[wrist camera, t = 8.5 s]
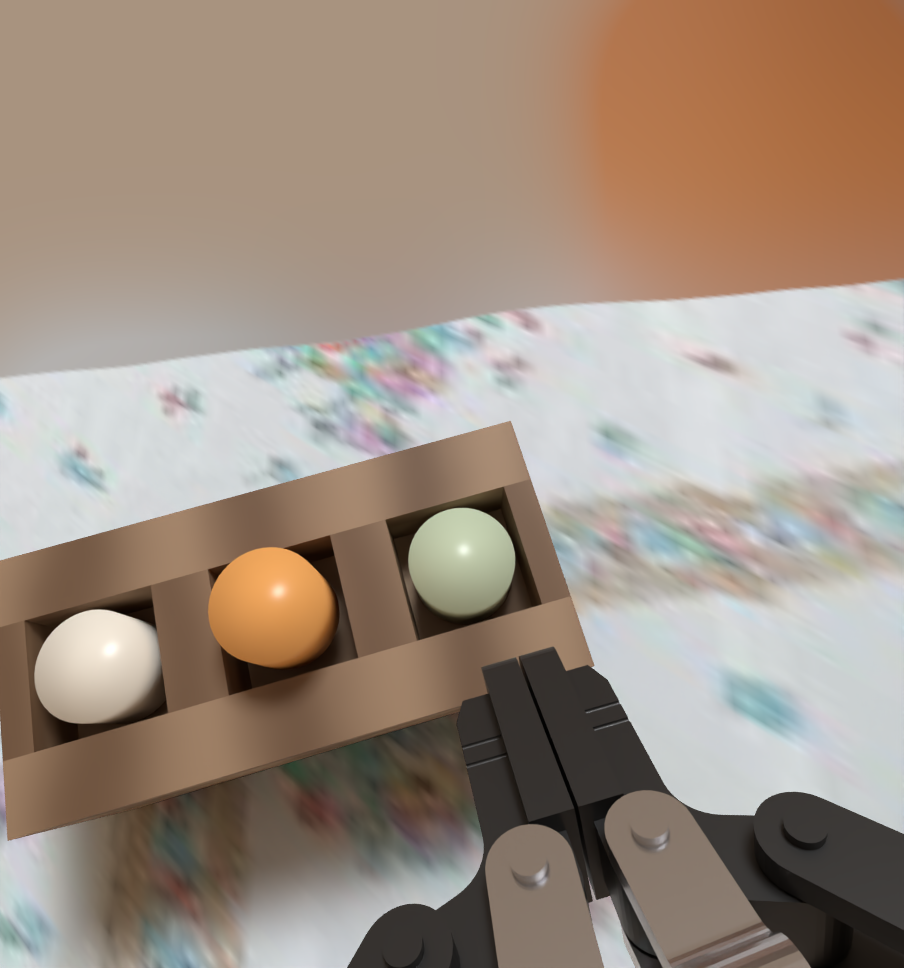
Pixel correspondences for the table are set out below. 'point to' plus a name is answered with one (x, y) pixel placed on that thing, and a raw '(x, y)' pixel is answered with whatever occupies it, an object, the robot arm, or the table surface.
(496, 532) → the sage egg
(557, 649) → the wooden egg holder
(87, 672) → the cream egg
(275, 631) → the orange egg
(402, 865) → the table surface
